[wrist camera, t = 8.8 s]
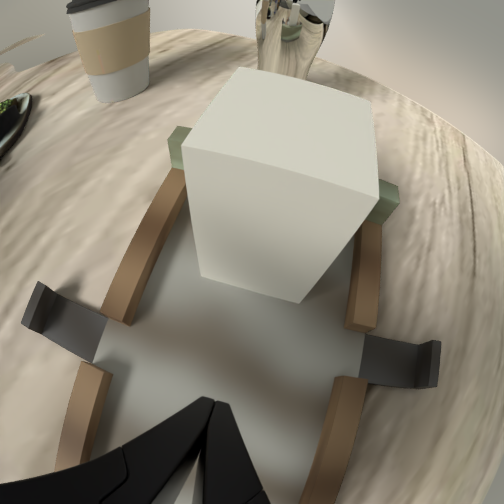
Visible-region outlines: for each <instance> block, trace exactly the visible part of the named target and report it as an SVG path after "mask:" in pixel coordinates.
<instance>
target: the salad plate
mask: <svg viewBox="0 0 504 504" xmlns="http://www.w3.org/2000/svg"><path fill="white" fill-rule="evenodd" d="M31 105H32V96H31V95H30V94H29V93H22V94H19V95H16V96H14V97H13V98H11V99H7V100H6V101H4V102H1V103H0V158H1V157H2V156H3V155H4V154H5V153H6V152H7V151H8V150H9V149H10V148H11V146H12V145H13V144H14V143H15V142H16V141H17V139H18V138H19V136H20V135H21V133H22V131H23V129H24V127H25V125H26V123H27V120H28V117H29V114H30V111H31Z"/></svg>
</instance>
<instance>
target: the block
mask: <svg viewBox="0 0 504 504" xmlns="http://www.w3.org/2000/svg"><path fill="white" fill-rule="evenodd" d="M181 150H182V158H183V166H184V173H185V181H186V188H187V195H188V202H189V208H190V215H191V221H192V227H193V234H194V240H195V245H196V251H197V257H198V262H199V268H200V273H201V276H202V277H205V278H208V279H212V280H215V281H219V282H222V283H225V284H229V285H232V286H236V287H239V288H243V289H246V290H250V291H254V292H257V293H261V294H264V295H268V296H272V297H275V298H279V299H283V300H287V301H290V302H294V303H298V304H299V303H300V302H301V301H302V300H303V299H304V297H305V296H306V295H307V294H308V292H309V291H310V290H311V289H312V288H313V286H314V285H315V284H316V283H317V281H318V280H319V279H320V278H321V276H322V275H323V274H324V273H325V271H326V270H327V269H328V268H329V266H330V265H331V264H332V262H333V261H334V260H335V259H336V257H337V256H338V255H339V253H340V252H341V251H342V249H343V248H344V247H345V245H346V244H347V243H348V241H349V240H350V239H351V237H352V236H353V235H354V233H355V232H356V231H357V229H358V228H359V227H360V225H361V224H362V223H363V221H364V220H365V218H366V217H367V216H368V214H369V213H370V211H371V210H372V209H373V207H374V206H375V204H376V203H377V202H378V200H379V181H378V165H377V152H376V141H375V132H374V123H373V116H372V108H371V102H370V101H368V100H365V99H363V98H360V97H357V96H354V95H352V94H349V93H346V92H343V91H340V90H337V89H333V88H330V87H327V86H324V85H320V84H317V83H313V82H309V81H306V80H302V79H298V78H294V77H290V76H286V75H281V74H277V73H272V72H267V71H262V70H257V69H251V68H245V67H238V69H237V70H236V71H235V72H234V74H233V75H232V76H231V77H230V79H229V80H228V81H227V82H226V84H225V85H224V86H223V87H222V89H221V90H220V91H219V93H218V94H217V95H216V97H215V98H214V99H213V101H212V102H211V103H210V105H209V106H208V107H207V109H206V110H205V111H204V113H203V114H202V116H201V117H200V118H199V120H198V121H197V123H196V124H195V125H194V127H193V128H192V130H191V131H190V133H189V134H188V136H187V137H186V139H185V140H184V142H183V143H182V145H181Z"/></svg>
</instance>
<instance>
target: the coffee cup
mask: <svg viewBox="0 0 504 504" xmlns="http://www.w3.org/2000/svg"><path fill="white" fill-rule="evenodd" d="M148 5H149V0H72V2H70V3H69V4H67V6H66V7H67V8H68V10H67V14H69V16H70V20H71V23H72V27H73V31H72V32H73V35H74V39H75V42H76V45H77V48H78V51H79V54H80V57H81V60H82V63H83V66H84V69H85V72H86V73H87V74H88V77H89V80H90V83H91V85H92V88H93V91H94V93H95V96H96V99H97V100H98V101H99V102H102V103H113V102H118V101H122V100H125V99H128V98H131V97H133V96H135V95H137V94H139V93H140V92H142V91H143V90H144V89H145V88H146V87H147V86H148V85H149V57H148V55H149V53H150V8H149V7H148Z"/></svg>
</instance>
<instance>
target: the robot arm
mask: <svg viewBox="0 0 504 504" xmlns="http://www.w3.org/2000/svg"><path fill="white" fill-rule="evenodd" d="M200 450H201V451H200ZM199 453H200V454H199ZM198 456H199V458H198ZM197 459H198V463H197V469H196V477H195V484H194V491H193V499H192V504H271V503H270V501H269V498H268V496H267V494H266V492H265V490H263V489H264V488H263V486H262V484H261V481H260V479H259V477H258V475H257V472H256V470H255V468H254V465H253V463H252V460H251V458H250V456H249V453H248V451H247V448H246V446H245V443H244V441H243V438H242V436H241V433H240V430H239V428H238V425H237V423H236V420H235V417H234V415H233V412H232V409H231V406H230V404H229V403H226V402H222V401H219V400H217V401H215V400H214V399H212V398H209V397H205V396H201V397H199V398H198V399H196V400H195V401H193V402H192V403H190V404H189V405H187V406H186V407H184V408H183V409H181V410H180V411H178V412H177V413H175V414H173V415H172V416H170V417H169V418H167V419H166V420H164V421H162V422H161V423H159V424H157V425H156V426H154V427H153V428H151V429H149V430H148V431H146V432H144V433H142V434H141V435H139V436H137V437H136V438H134V439H132V440H130V441H129V442H127V443H125V444H123V445H122V446H121V447H120V446H119V447H117V448H115V449H113V450H112V451H110V452H108V453H106V454H104V455H101V456H99V457H97V458H95V459H93V460H90V461H88V462H85V463H82V464H79V465H76V466H74V467H70V468H67V469H64V470H60V471H57V472H53V473H49V474H45V475H41V476H37V477H33V478H29V479H24V480H19V481H14V482H8V483H2V484H0V504H174V503H175V501H176V499H177V497H178V495H179V494H180V492H181V490H182V488H183V486H184V484H185V482H186V480H187V479H188V477H189V475H190V473H191V471H192V469H193V467H194V465H195V463H196V461H197Z"/></svg>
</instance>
